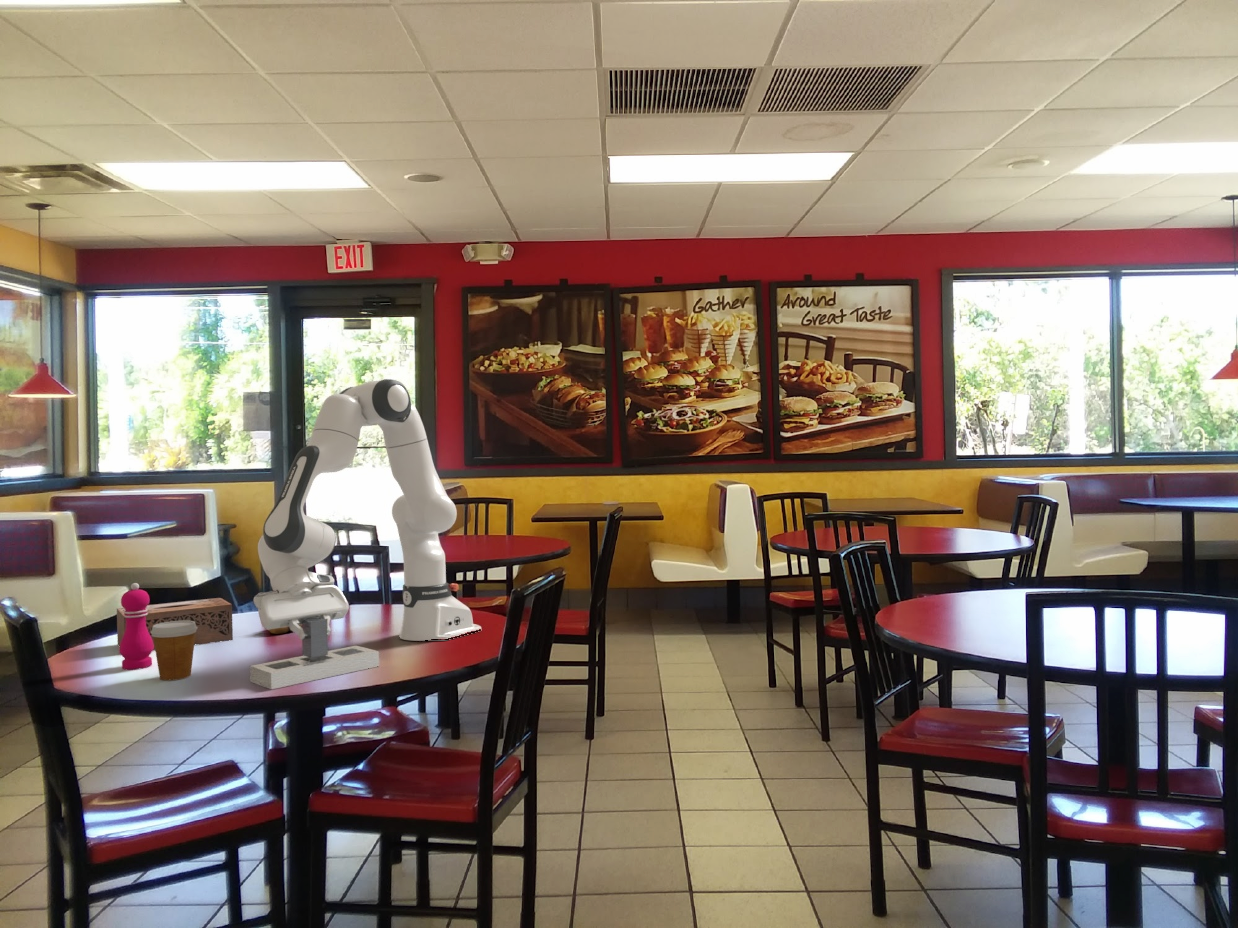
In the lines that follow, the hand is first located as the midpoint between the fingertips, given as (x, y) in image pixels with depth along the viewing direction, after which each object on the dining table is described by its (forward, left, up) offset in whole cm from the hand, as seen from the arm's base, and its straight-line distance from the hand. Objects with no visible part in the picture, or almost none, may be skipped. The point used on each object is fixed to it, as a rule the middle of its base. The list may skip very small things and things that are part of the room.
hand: (316, 635), depth 201 cm
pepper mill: (+24, -42, -9) cm, 49 cm away
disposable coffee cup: (+22, -24, -9) cm, 33 cm away
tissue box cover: (+7, -64, -9) cm, 65 cm away
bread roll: (-19, -54, -9) cm, 58 cm away
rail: (0, -1, -9) cm, 9 cm away
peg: (0, -1, -4) cm, 4 cm away
